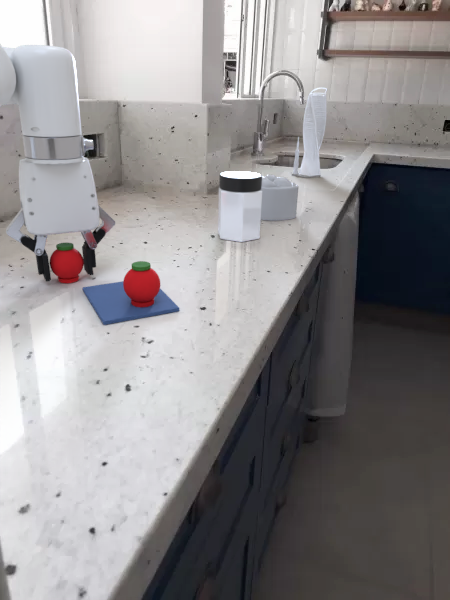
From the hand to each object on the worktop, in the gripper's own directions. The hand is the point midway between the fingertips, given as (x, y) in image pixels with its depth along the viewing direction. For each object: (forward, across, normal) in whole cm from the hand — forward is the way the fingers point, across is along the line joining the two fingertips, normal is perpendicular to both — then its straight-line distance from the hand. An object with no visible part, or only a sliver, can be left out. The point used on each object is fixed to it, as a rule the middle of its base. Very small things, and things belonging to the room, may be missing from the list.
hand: (68, 274), depth 72 cm
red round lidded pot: (0, -7, +14) cm, 15 cm away
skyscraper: (+1, -93, -67) cm, 115 cm away
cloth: (+1, -6, +11) cm, 13 cm away
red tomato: (+1, 0, 0) cm, 1 cm away
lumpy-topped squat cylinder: (+1, -50, -24) cm, 55 cm away
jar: (+1, -35, -11) cm, 37 cm away
